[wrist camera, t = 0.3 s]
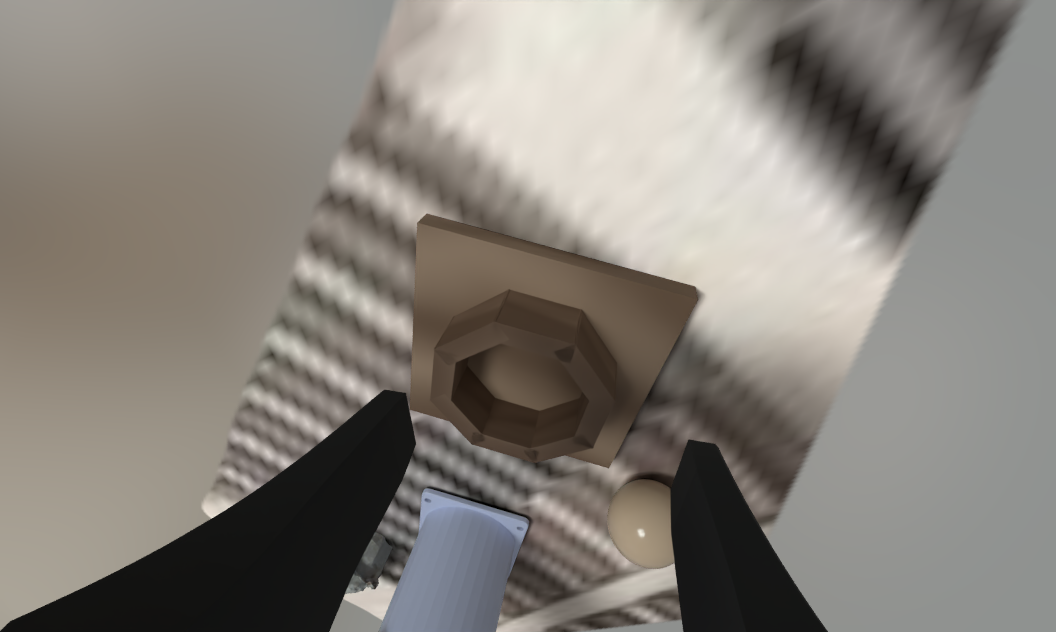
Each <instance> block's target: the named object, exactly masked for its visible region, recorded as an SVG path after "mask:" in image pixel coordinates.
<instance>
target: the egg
mask: <svg viewBox="0 0 1056 632" xmlns="http://www.w3.org/2000/svg"><path fill="white" fill-rule="evenodd" d="M670 490H671V489H670V488H669V487H668V486H666V485H664V484H662V483H660V482H657V481H654V480H648V479H640V480H635V481H632V482H629V483H627V484H625V485H624V486H622V487H621V488H620V489H619V490H618V491H617V492H616V493H615V495H614V496H613V498H612V500H611V502H610V505H609V508H608V515H607V523H608V530H609V533H610V536H611V539H612V541H613V543H614V545H615V546H616V548H617V549H618V551H619V552H620V553H621V554H622V555H623V556H624V557H625V558H626V559H628V560H629V561H630V562H632V563H634V564H636V565H638V566H641V567H644V568H649V569H659V568H664V567H667V566H670V565H671V564H673V563H675V561H674V553H673V545H672V537H671V498H670Z"/></svg>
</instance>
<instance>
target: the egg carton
mask: <svg viewBox="0 0 1056 632" xmlns="http://www.w3.org/2000/svg"><path fill="white" fill-rule="evenodd" d="M392 548H393V547H391V546H390V545H389V544H388V543H387V542H386V540H385V537H384V536H382V535H380V534H378V533H376V532H375V533H374V535H373V537H372V539H371V541H370V543H369V545H368V547H367V549H366V550H365V552H364V554H363V556H362V558H361V560H360V562H359V564H358V566H357V568H356V570H355V572H354V574H353V576H352V578H351V581H350V583H349V585H348V588H347V590H346V592H345V594H347V593H356V592H359V591H363V590H364V589H365V588H366V587H371V589H376V587H377V586H378V584H379V583H378V578H379V577H380V575H381V574H382V573H381V572H382V570H383V567H384V565H385V563H386V561H387V559H388V557H389V554H390V552H391V550H392Z"/></svg>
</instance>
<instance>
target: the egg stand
mask: <svg viewBox="0 0 1056 632" xmlns="http://www.w3.org/2000/svg"><path fill="white" fill-rule="evenodd" d="M697 300H698V297H697V293H696V288H695V287H694V286H690V285H687V284H683V283H679V282H675V281H672V280H668V279H664V278H661V277H657V276H653V275H650V274H646V273H642V272H639V271H635V270H631V269H628V268H624V267H620V266H617V265H613V264H609V263H606V262H602V261H598V260H595V259H591V258H587V257H584V256H580V255H576V254H572V253H569V252H565V251H561V250H558V249H554V248H550V247H547V246H543V245H539V244H536V243H532V242H528V241H525V240H521V239H517V238H514V237H510V236H506V235H503V234H499V233H495V232H492V231H488V230H484V229H481V228H477V227H473V226H469V225H466V224H462V223H458V222H455V221H451V220H447V219H444V218H440V217H436V216H433V215H429V214H426V215H425V216H424V217H423V218H422V219H421V220H420V221H419V222H418V223H417V245H416V269H415V294H414V318H413V343H412V367H411V392H410V410H413V411H417V412H420V413H423V414H427V415H430V416H434V417H437V418H440V419H444V420H447V421H450V422H451V423H452V424H453V425H454V426H455V427H456V428H457V429H458V430H459V431H460V432H461V433H462V435H463V436H464V437H465V438H466V439H467V440H468V441H469V442H470V443H471V444H472V445H476V446H480V447H483V448H486V449H490V450H493V451H496V452H500V453H503V454H507V455H510V456H513V457H517V458H520V459H523V460H527V461H530V462H533V463H536V462H540V461H544V460H548V459H552V458H556V457H560V456H564V455H566V456H569V457H573V458H576V459H579V460H583V461H586V462H589V463H593V464H596V465H600V466H603V467H606V468H609V467H610V465H611V463H612V461H613V459H614V457H615V456H616V454H617V452H618V450H619V448H620V446H621V444H622V442H623V440H624V438H625V437H626V435H627V433H628V431H629V429H630V427H631V425H632V423H633V421H634V420H635V418H636V416H637V414H638V412H639V410H640V408H641V406H642V404H643V403H644V401H645V399H646V397H647V395H648V393H649V391H650V389H651V387H652V386H653V384H654V382H655V380H656V378H657V376H658V374H659V372H660V370H661V369H662V367H663V365H664V363H665V361H666V359H667V357H668V355H669V353H670V351H671V350H672V348H673V346H674V344H675V342H676V340H677V338H678V336H679V334H680V333H681V331H682V329H683V327H684V325H685V323H686V321H687V319H688V317H689V316H690V314H691V312H692V310H693V308H694V306H695V304H696V302H697Z"/></svg>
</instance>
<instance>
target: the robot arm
mask: <svg viewBox="0 0 1056 632" xmlns="http://www.w3.org/2000/svg"><path fill="white" fill-rule="evenodd" d="M415 445H416V441H415V436H414V431H413V426H412V421H411V416H410V411H409V406H408V401H407V396H406V393H402V392H396V391H390V390H383V391H382V392H381V393H380V394H378V395H377V396H376V397H375V398H374V399H372V400H371V401H370V402H369V403H368V404H366V405H365V406H364V407H363V408H362V409H360V410H359V411H358V412H357V413H356V414H354V415H353V416H352V417H351V418H350V419H348V420H347V421H346V422H345V423H344V424H342V425H341V426H340V427H339V428H338V429H336V430H335V431H334V432H333V433H331V434H330V435H329V436H328V437H326V438H325V439H324V440H323V441H321V442H320V443H319V444H318V445H317V446H315V447H314V448H313V449H312V450H310V451H309V452H308V453H306V454H305V455H304V456H302V457H301V458H300V459H298V460H297V461H296V462H294V463H293V464H292V465H290V466H289V467H288V468H286V469H285V470H284V471H282V472H281V473H280V474H278V475H277V476H276V477H274V478H273V479H271V480H270V481H269V482H267V483H266V484H264V485H263V486H261V487H260V488H259V489H257V490H256V491H254V492H253V493H251V494H250V495H248V496H247V497H245V498H244V499H242V500H241V501H239V502H237V503H236V504H234V505H233V506H231V507H230V508H228V509H227V510H225V511H223V512H222V513H220V514H219V515H217V516H215V517H214V518H212V519H210V520H209V521H207V522H205V523H204V524H202V525H200V526H198V527H197V528H195V529H193V530H191V531H190V532H188V533H186V534H185V535H183V536H181V537H179V538H178V539H176V540H174V541H173V542H171V543H169V544H167V545H166V546H164V547H162V548H160V549H158V550H156V551H154V552H153V553H151V554H149V555H147V556H145V557H143V558H141V559H139V560H138V561H136V562H134V563H132V564H130V565H128V566H126V567H124V568H122V569H120V570H118V571H116V572H114V573H112V574H110V575H108V576H106V577H105V578H102V579H100V580H98V581H96V582H94V583H92V584H90V585H88V586H86V587H84V588H82V589H80V590H78V591H75V592H73V593H71V594H69V595H67V596H64V597H62V598H60V599H58V600H56V601H54V602H52V603H49V604H47V605H45V606H43V607H41V608H38V609H36V610H34V611H32V612H30V613H28V614H25V615H23V616H21V617H19V618H16V619H14V620H12V621H10V622H9V623H8V624H7V625H6V626H5V627H4V628H3V629H2V630H1V631H0V632H329V631H330V629H331V626H332V624H333V621H334V619H335V616H336V614H337V612H338V609H339V607H340V604H341V602H342V600H343V597H344V595H345V592H346V590H347V588H348V585H349V583H350V581H351V578H352V576H353V574H354V572H355V570H356V568H357V566H358V564H359V562H360V560H361V558H362V556H363V554H364V552H365V550H366V549H367V547H368V545H369V543H370V541H371V539H372V537H373V535H374V533H375V531H376V530H377V528H378V526H379V524H380V522H381V520H382V518H383V516H384V514H385V513H386V511H387V509H388V507H389V505H390V503H391V501H392V499H393V497H394V495H395V493H396V491H397V489H398V487H399V485H400V484H401V482H402V479H403V477H404V474H405V472H406V469H407V467H408V464H409V462H410V459H411V456H412V453H413V451H414V448H415ZM670 498H671V537H672V545H673V553H674V561H675V570H676V577H677V585H678V593H679V601H680V609H681V617H682V624H683V631H684V632H828V631H827V630H826V629H825V627H824V626H823V624H822V623H821V621H820V620H819V618H818V617H817V616H816V614H815V613H814V611H813V610H812V608H811V607H810V606H809V604H808V602H807V601H806V600H805V598H804V597H803V595H802V593H801V592H800V591H799V589H798V587H797V586H796V584H795V583H794V581H793V580H792V578H791V577H790V575H789V573H788V572H787V570H786V569H785V567H784V566H783V564H782V562H781V561H780V559H779V558H778V556H777V554H776V553H775V551H774V550H773V548H772V546H771V544H770V543H769V541H768V539H767V538H766V536H765V534H764V532H763V531H762V529H761V527H760V526H759V524H758V522H757V521H756V519H755V517H754V515H753V514H752V512H751V510H750V508H749V506H748V505H747V503H746V501H745V499H744V497H743V495H742V493H741V492H740V490H739V488H738V486H737V484H736V482H735V480H734V478H733V476H732V474H731V472H730V470H729V468H728V466H727V464H726V462H725V460H724V458H723V456H722V454H721V452H720V450H719V448H718V447H717V446H716V444H712V443H706V442H700V441H694V440H688V442H687V445H686V448H685V451H684V453H683V456H682V459H681V462H680V465H679V467H678V470H677V473H676V476H675V479H674V482H673V484H672V487H671V490H670ZM528 526H529V520H528V519H527V518H525V517H522V516H519V515H516V514H512V513H509V512H506V511H502V510H499V509H496V508H493V507H489V506H486V505H483V504H479V503H476V502H473V501H470V500H466V499H463V498H460V497H456V496H453V495H450V494H446V493H443V492H440V491H437V490H433V489H430V488H426V489H424V491H423V493H422V500H421V513H420V525H419V535H418V537H417V540H416V542H415V544H414V547H413V549H412V552H411V554H410V556H409V559H408V561H407V564H406V566H405V569H404V571H403V573H402V576H401V578H400V581H399V583H398V585H397V588H396V590H395V593H394V595H393V598H392V600H391V602H390V605H389V607H388V610H387V612H386V614H385V617H384V619H383V622H382V624H381V627H380V629H379V631H378V632H496V629H497V624H498V620H499V615H500V611H501V606H502V602H503V597H504V593H505V588H506V584H507V579H508V577H509V575H510V572H511V570H512V567H513V565H514V562H515V560H516V557H517V554H518V552H519V549H520V547H521V544H522V542H523V539H524V536H525V534H526V531H527V529H528Z"/></svg>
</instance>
